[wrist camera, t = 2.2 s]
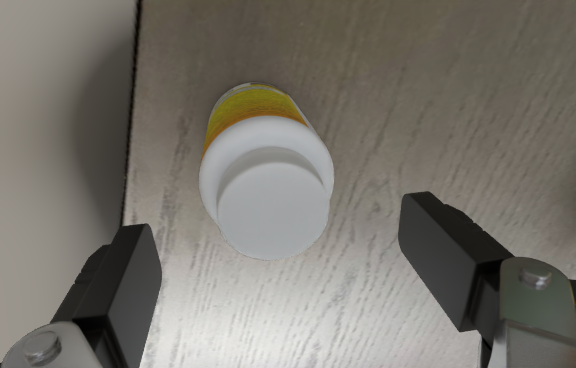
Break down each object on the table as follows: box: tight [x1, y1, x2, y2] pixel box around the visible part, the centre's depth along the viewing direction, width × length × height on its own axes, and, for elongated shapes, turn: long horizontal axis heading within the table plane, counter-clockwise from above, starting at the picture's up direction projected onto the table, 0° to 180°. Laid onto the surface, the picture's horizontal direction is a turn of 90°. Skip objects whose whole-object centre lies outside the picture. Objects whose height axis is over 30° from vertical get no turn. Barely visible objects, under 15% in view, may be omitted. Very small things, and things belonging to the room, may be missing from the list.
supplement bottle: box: [199, 82, 334, 261], centre depth 16 cm, size 6×6×10 cm
